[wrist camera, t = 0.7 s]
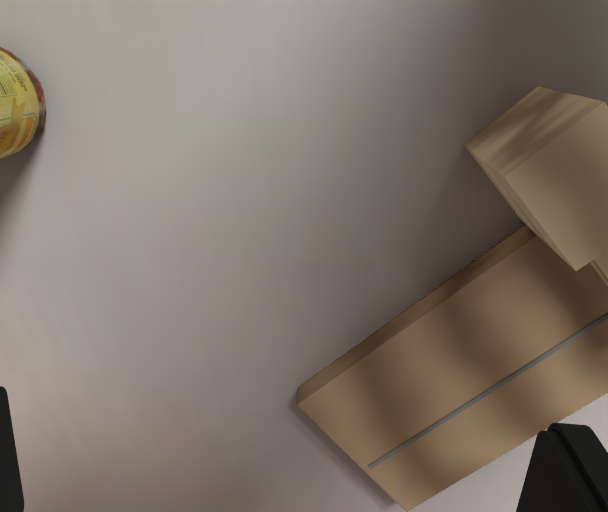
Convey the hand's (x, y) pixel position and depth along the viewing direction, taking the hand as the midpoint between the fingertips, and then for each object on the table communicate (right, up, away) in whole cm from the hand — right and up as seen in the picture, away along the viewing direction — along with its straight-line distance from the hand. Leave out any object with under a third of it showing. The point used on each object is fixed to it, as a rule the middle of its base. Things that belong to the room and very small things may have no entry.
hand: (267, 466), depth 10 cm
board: (+13, -3, +27) cm, 30 cm away
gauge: (+16, +7, +23) cm, 29 cm away
